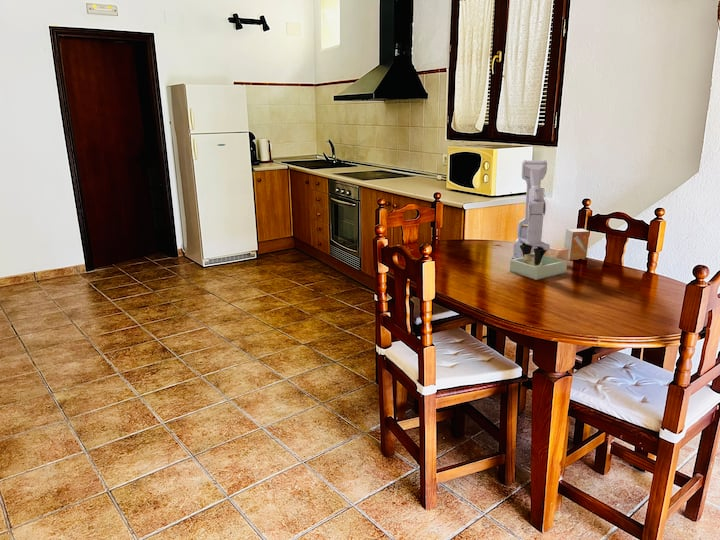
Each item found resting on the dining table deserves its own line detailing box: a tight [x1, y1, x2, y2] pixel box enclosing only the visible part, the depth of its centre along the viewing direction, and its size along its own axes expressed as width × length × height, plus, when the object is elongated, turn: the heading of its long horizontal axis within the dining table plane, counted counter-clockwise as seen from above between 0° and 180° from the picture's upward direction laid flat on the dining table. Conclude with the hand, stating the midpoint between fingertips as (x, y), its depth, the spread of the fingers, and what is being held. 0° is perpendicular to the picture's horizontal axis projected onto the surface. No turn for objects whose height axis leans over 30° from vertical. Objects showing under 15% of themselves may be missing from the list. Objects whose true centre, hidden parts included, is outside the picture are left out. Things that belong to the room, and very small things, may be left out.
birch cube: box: [524, 253, 542, 267], centre depth 222 cm, size 5×5×5 cm
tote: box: [509, 254, 568, 281], centre depth 224 cm, size 14×18×5 cm
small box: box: [563, 228, 590, 261], centre depth 244 cm, size 8×6×13 cm
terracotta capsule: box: [555, 247, 569, 265], centre depth 234 cm, size 5×5×7 cm
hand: (531, 263), depth 222 cm, fingers closed on birch cube, 5 cm apart
